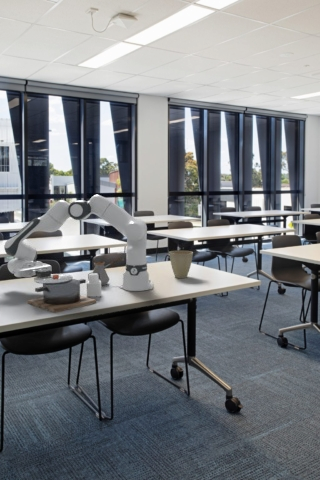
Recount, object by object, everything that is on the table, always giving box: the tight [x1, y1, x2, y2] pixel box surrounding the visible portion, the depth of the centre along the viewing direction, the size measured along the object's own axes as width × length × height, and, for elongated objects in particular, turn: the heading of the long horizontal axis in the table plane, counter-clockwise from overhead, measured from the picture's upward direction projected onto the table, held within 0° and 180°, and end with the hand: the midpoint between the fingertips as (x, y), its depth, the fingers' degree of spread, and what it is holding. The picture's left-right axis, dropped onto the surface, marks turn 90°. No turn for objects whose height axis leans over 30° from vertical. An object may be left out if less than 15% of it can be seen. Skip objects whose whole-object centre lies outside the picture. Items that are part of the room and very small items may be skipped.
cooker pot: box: [34, 278, 87, 305], centre depth 227 cm, size 18×28×9 cm, turn 136°
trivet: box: [27, 294, 97, 314], centre depth 228 cm, size 24×24×2 cm
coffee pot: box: [92, 256, 124, 287], centre depth 270 cm, size 21×12×15 cm, turn 120°
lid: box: [33, 269, 74, 285], centre depth 232 cm, size 22×19×3 cm
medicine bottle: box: [86, 271, 102, 298], centre depth 243 cm, size 7×7×12 cm
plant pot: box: [168, 250, 194, 279], centre depth 288 cm, size 15×15×16 cm
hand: (40, 272), depth 240 cm, fingers closed, pressing on lid
